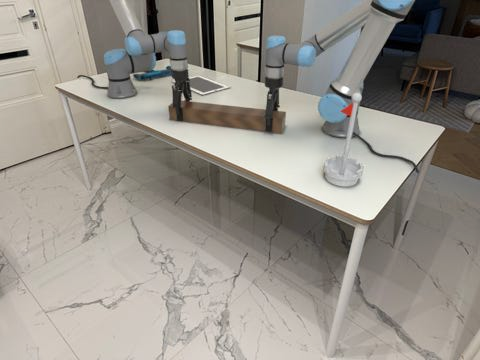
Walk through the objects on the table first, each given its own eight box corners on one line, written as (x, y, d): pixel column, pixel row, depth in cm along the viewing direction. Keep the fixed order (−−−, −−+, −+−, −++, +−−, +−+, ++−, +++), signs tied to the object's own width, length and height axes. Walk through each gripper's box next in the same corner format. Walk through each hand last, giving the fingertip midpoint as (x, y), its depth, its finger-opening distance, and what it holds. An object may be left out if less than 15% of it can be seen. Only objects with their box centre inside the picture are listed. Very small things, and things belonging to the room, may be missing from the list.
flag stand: (345, 165, 124) (361, 84, 108) (368, 183, 114) (390, 97, 98) (314, 171, 121) (326, 88, 104) (336, 191, 110) (352, 103, 94)
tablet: (172, 82, 209) (172, 81, 209) (199, 75, 220) (199, 75, 220) (202, 95, 189) (202, 94, 188) (230, 87, 200) (230, 87, 200)
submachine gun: (171, 61, 241) (190, 66, 224) (171, 66, 243) (190, 72, 226) (125, 69, 222) (142, 76, 205) (126, 75, 224) (143, 82, 207)
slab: (284, 125, 154) (286, 111, 150) (281, 133, 147) (282, 118, 144) (177, 113, 167) (176, 99, 163) (169, 119, 160) (168, 105, 157)
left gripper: (182, 62, 159) (186, 108, 172) (160, 74, 142) (166, 124, 155) (196, 63, 158) (200, 109, 170) (176, 76, 140) (181, 126, 153)
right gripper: (271, 68, 150) (268, 115, 162) (258, 84, 131) (257, 135, 143) (288, 70, 148) (284, 117, 160) (277, 85, 129) (274, 138, 141)
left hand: (184, 116), depth 162 cm, fingers closed on slab, 9 cm apart
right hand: (271, 126), depth 152 cm, fingers open, 10 cm apart
